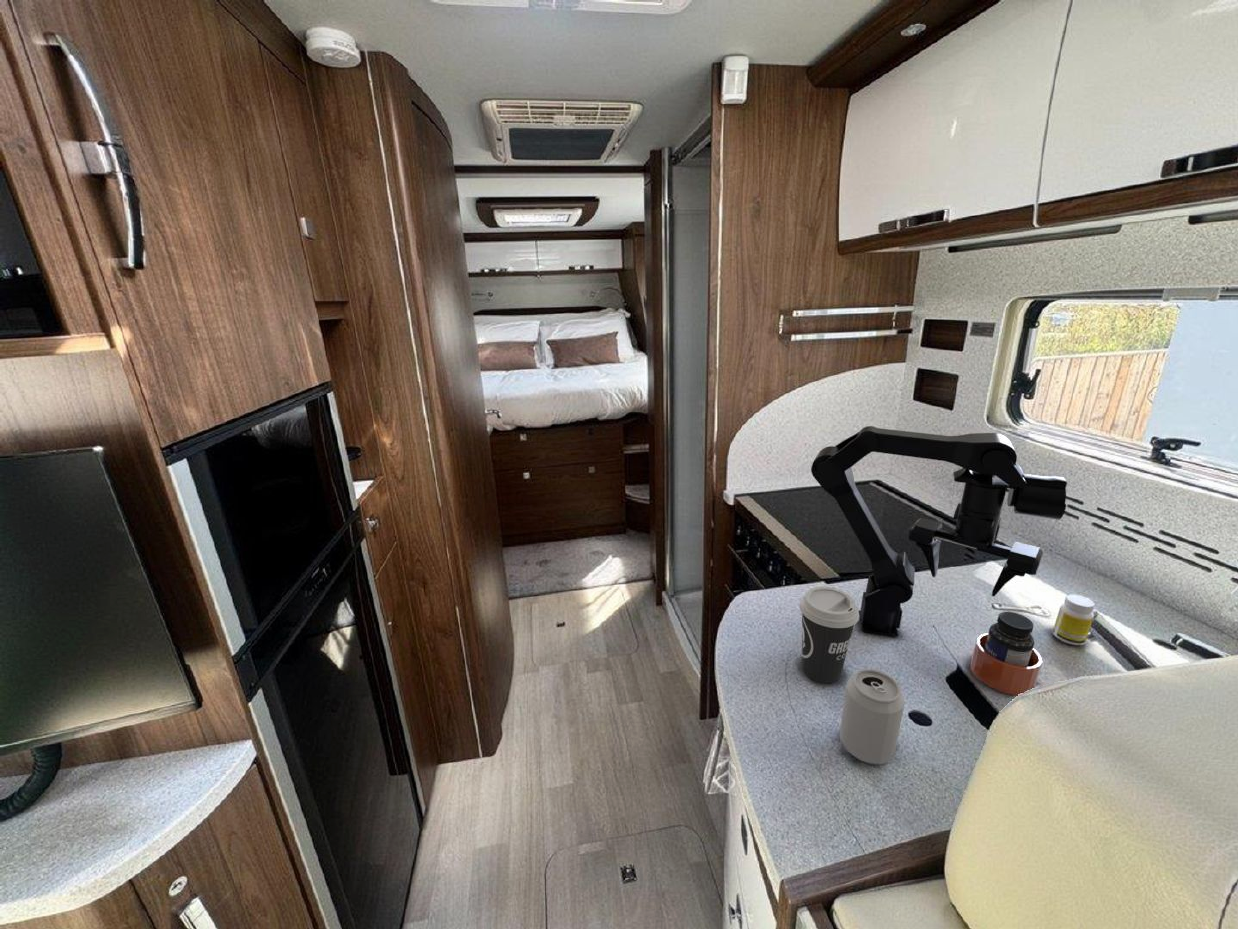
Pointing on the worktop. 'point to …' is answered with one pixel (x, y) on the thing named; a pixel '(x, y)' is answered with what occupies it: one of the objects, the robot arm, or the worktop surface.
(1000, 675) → the ceramic bowl
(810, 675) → the coffee cup
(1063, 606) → the supplement bottle
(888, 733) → the can
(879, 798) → the worktop surface
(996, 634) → the pill bottle
